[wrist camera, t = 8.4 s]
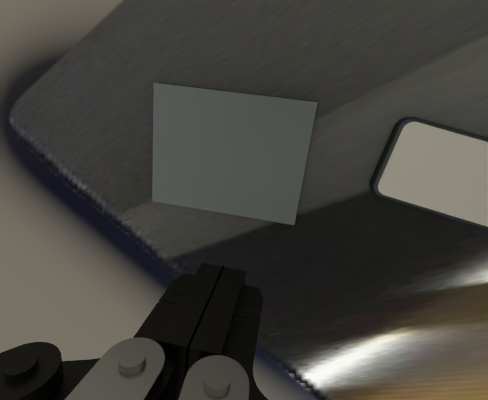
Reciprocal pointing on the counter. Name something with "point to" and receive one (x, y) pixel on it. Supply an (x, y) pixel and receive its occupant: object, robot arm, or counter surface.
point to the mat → (230, 151)
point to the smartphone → (435, 171)
